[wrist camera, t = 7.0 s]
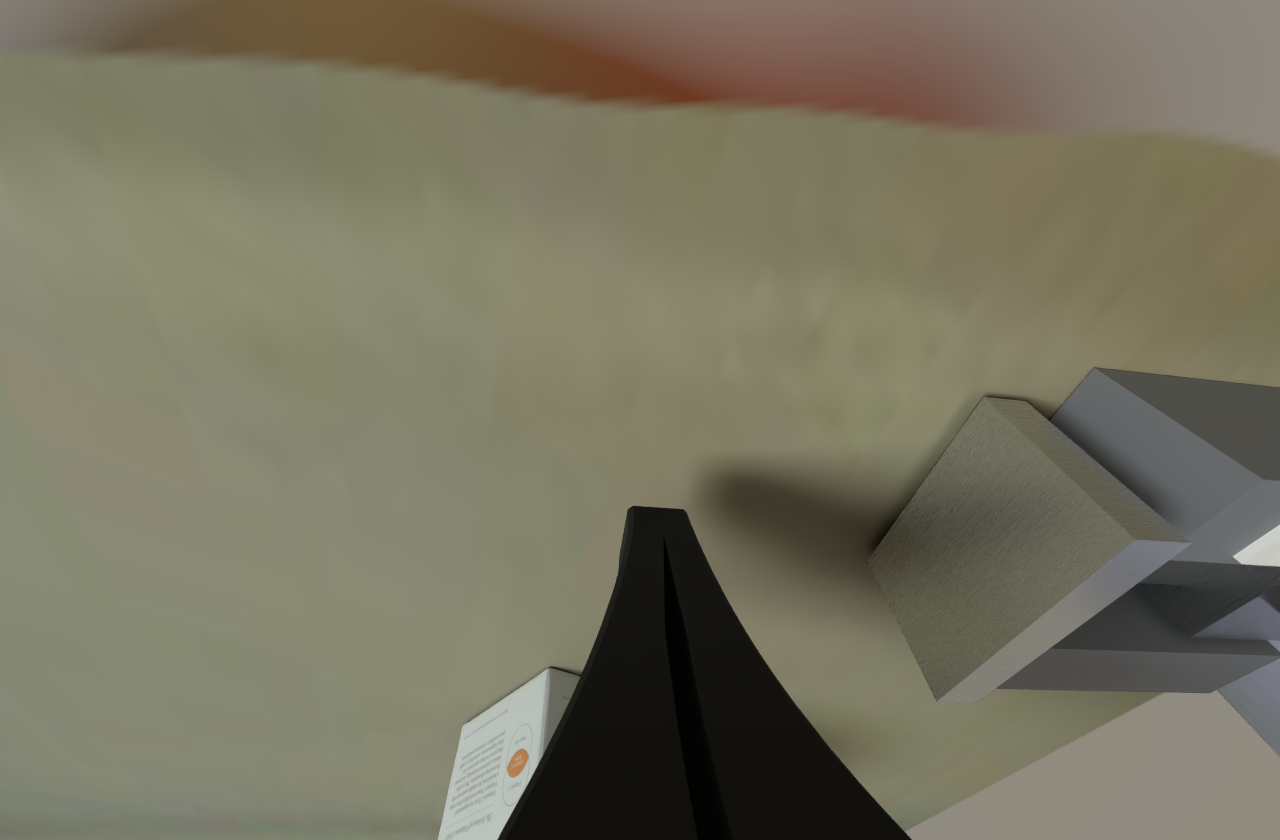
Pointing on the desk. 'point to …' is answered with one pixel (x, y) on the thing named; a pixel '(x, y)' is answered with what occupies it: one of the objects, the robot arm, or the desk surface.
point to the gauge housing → (1172, 523)
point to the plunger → (1040, 556)
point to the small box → (503, 756)
